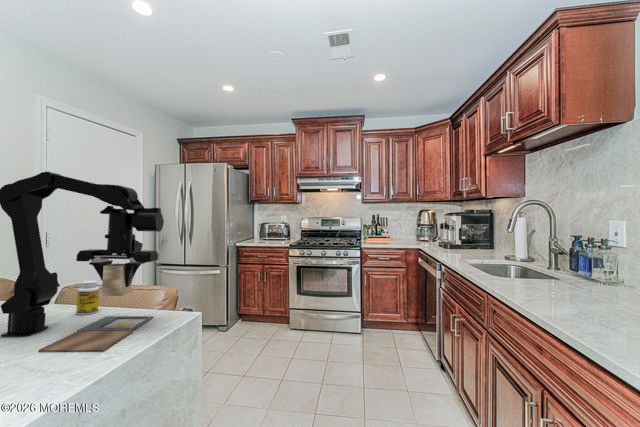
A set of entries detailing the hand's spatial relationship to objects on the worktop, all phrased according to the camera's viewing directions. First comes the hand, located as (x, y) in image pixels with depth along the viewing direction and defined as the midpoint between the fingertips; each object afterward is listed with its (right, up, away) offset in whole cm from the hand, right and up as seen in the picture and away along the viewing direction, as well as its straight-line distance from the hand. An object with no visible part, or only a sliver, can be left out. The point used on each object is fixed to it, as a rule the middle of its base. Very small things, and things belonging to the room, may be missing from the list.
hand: (117, 286), depth 81 cm
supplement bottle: (-19, -12, +14) cm, 27 cm away
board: (-1, -12, -9) cm, 14 cm away
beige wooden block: (0, -2, 0) cm, 2 cm away
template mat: (-2, -12, +4) cm, 13 cm away
